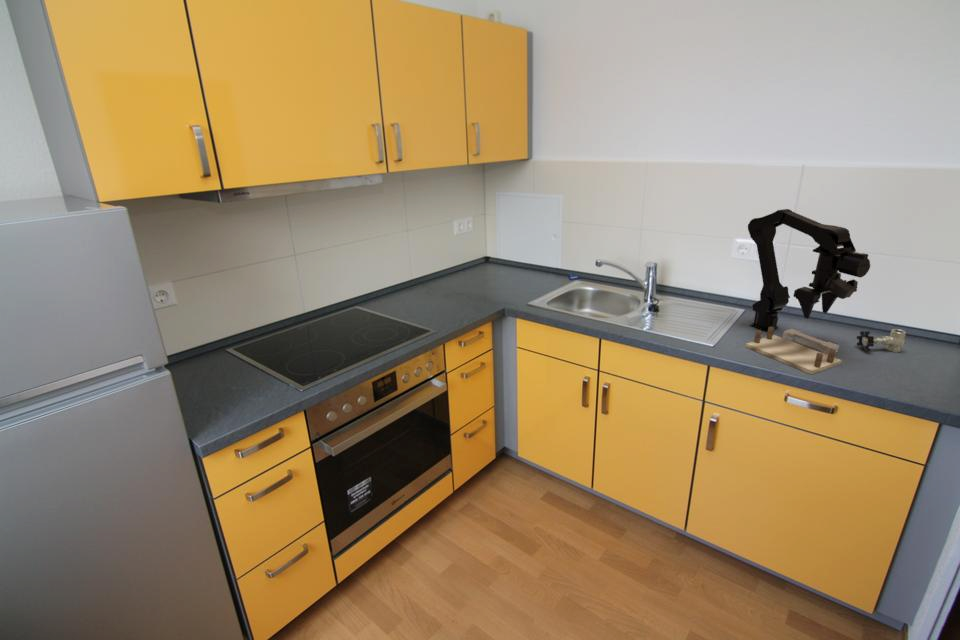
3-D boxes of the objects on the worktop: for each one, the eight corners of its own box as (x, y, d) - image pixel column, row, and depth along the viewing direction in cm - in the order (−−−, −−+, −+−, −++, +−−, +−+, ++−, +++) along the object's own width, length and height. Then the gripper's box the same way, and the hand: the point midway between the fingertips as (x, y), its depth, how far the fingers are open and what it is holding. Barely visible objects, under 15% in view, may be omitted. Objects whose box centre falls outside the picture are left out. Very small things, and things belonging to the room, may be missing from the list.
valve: (892, 345, 162) (854, 346, 162) (897, 326, 159) (859, 327, 160) (907, 354, 156) (867, 355, 156) (913, 335, 153) (873, 335, 154)
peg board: (744, 346, 164) (747, 332, 162) (773, 338, 170) (776, 324, 168) (811, 374, 146) (815, 358, 144) (840, 363, 151) (844, 348, 149)
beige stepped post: (782, 337, 170) (783, 331, 169) (790, 335, 171) (791, 328, 170) (829, 355, 157) (831, 348, 156) (837, 352, 158) (839, 345, 157)
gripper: (835, 280, 144) (822, 330, 150) (873, 270, 151) (860, 318, 157) (797, 270, 153) (787, 317, 159) (835, 262, 161) (824, 307, 166)
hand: (815, 315), depth 160 cm, fingers open, 9 cm apart
